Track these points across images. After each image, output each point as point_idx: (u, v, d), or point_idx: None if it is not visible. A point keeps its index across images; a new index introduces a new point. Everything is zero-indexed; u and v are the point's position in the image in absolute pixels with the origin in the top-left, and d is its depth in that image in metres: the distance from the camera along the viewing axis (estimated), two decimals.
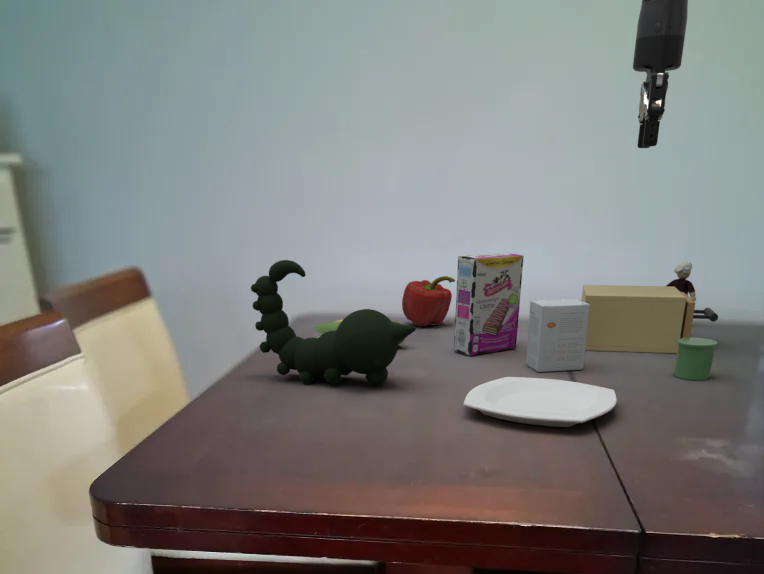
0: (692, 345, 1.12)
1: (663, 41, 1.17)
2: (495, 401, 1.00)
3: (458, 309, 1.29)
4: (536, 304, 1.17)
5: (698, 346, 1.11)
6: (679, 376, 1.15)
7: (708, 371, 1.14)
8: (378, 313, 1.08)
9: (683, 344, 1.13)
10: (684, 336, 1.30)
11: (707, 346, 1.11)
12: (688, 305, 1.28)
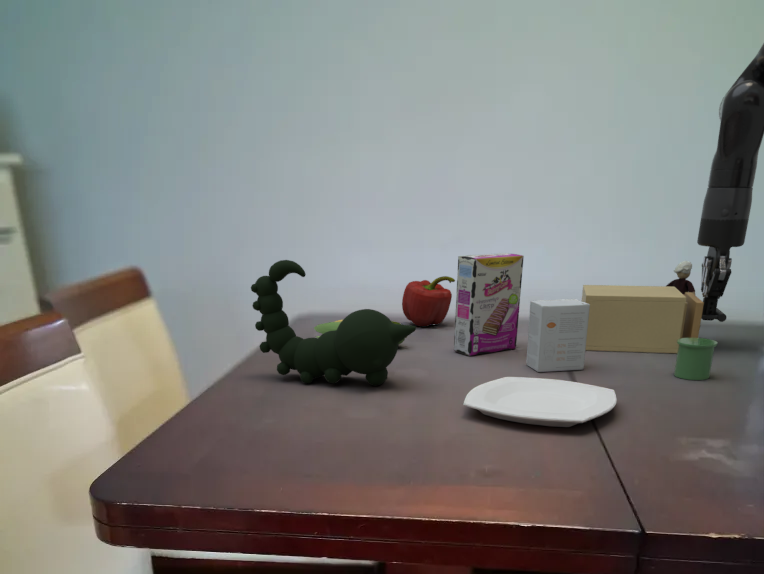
0: (692, 345, 1.12)
1: (729, 225, 1.24)
2: (495, 401, 1.00)
3: (458, 309, 1.29)
4: (536, 304, 1.17)
5: (698, 346, 1.11)
6: (679, 376, 1.15)
7: (708, 371, 1.14)
8: (378, 313, 1.08)
9: (683, 344, 1.13)
10: (692, 336, 1.29)
11: (707, 346, 1.11)
12: (696, 305, 1.27)
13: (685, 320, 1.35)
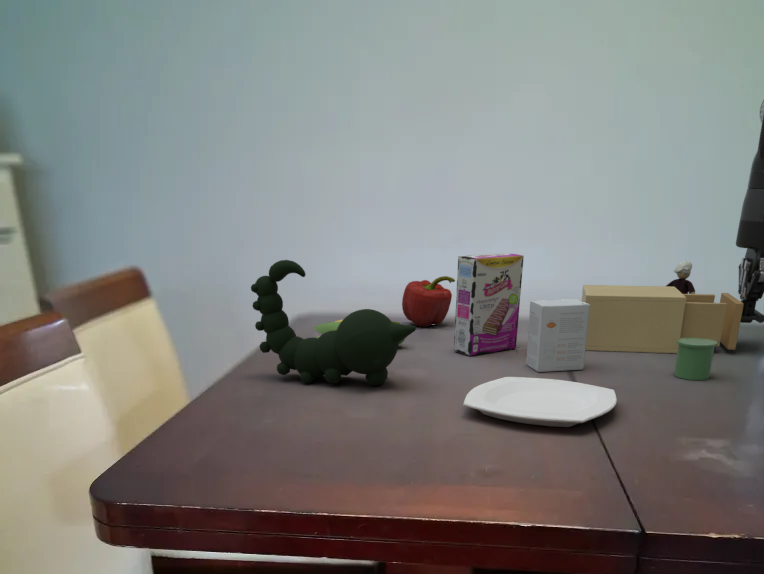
0: (692, 345, 1.12)
1: None
2: (495, 401, 1.00)
3: (458, 309, 1.29)
4: (536, 304, 1.17)
5: (698, 346, 1.11)
6: (679, 376, 1.15)
7: (708, 371, 1.14)
8: (378, 313, 1.08)
9: (683, 344, 1.13)
10: (731, 337, 1.28)
11: (707, 346, 1.11)
12: (736, 306, 1.26)
13: None
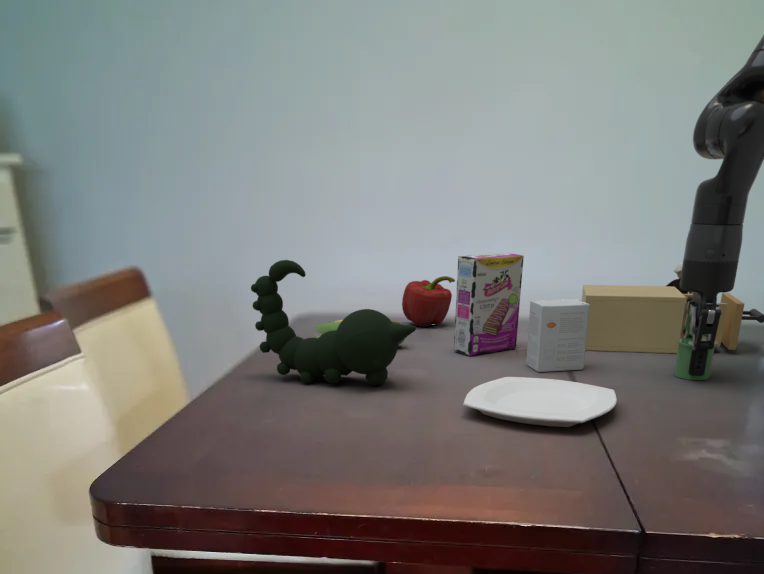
0: None
1: (715, 268, 1.06)
2: (495, 401, 1.00)
3: (458, 309, 1.29)
4: (536, 304, 1.17)
5: None
6: (679, 376, 1.15)
7: (708, 371, 1.14)
8: (378, 313, 1.08)
9: (683, 344, 1.13)
10: (732, 337, 1.28)
11: None
12: (737, 306, 1.26)
13: None
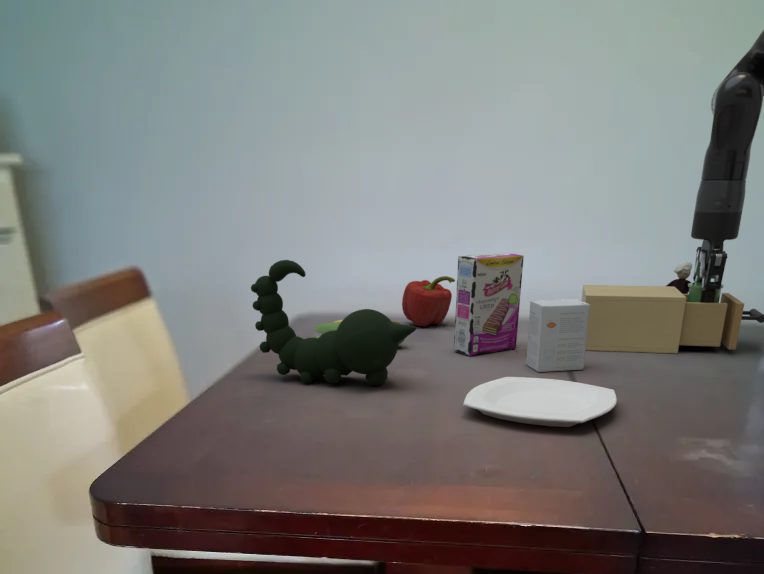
0: None
1: (722, 218, 1.23)
2: (495, 401, 1.00)
3: (458, 309, 1.29)
4: (536, 304, 1.17)
5: None
6: None
7: None
8: (378, 313, 1.08)
9: (694, 286, 1.30)
10: (732, 337, 1.28)
11: None
12: (737, 306, 1.26)
13: None
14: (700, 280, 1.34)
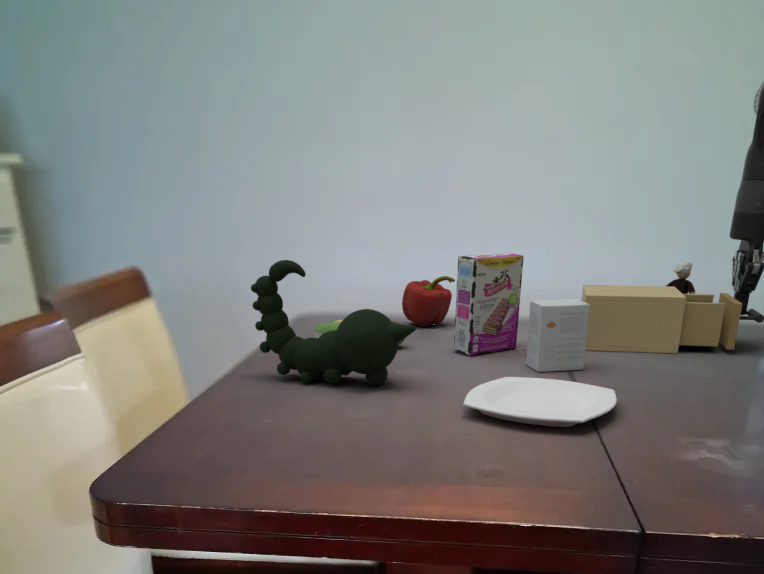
0: None
1: (763, 218, 1.22)
2: (495, 401, 1.00)
3: (458, 309, 1.29)
4: (536, 304, 1.17)
5: None
6: None
7: None
8: (378, 313, 1.08)
9: None
10: (730, 337, 1.28)
11: None
12: (735, 306, 1.26)
13: None
14: None
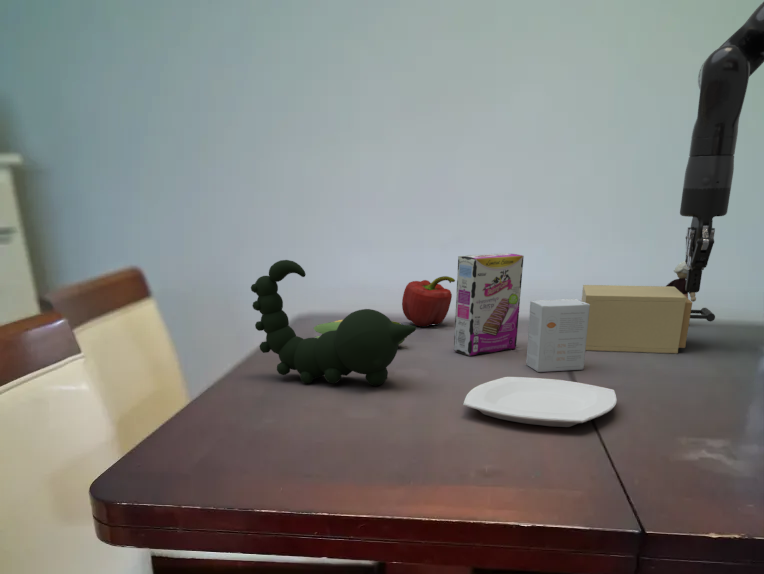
0: None
1: (710, 194, 1.22)
2: (495, 401, 1.00)
3: (458, 309, 1.29)
4: (536, 304, 1.17)
5: None
6: None
7: None
8: (378, 313, 1.08)
9: None
10: (681, 336, 1.30)
11: None
12: (685, 305, 1.28)
13: None
14: None
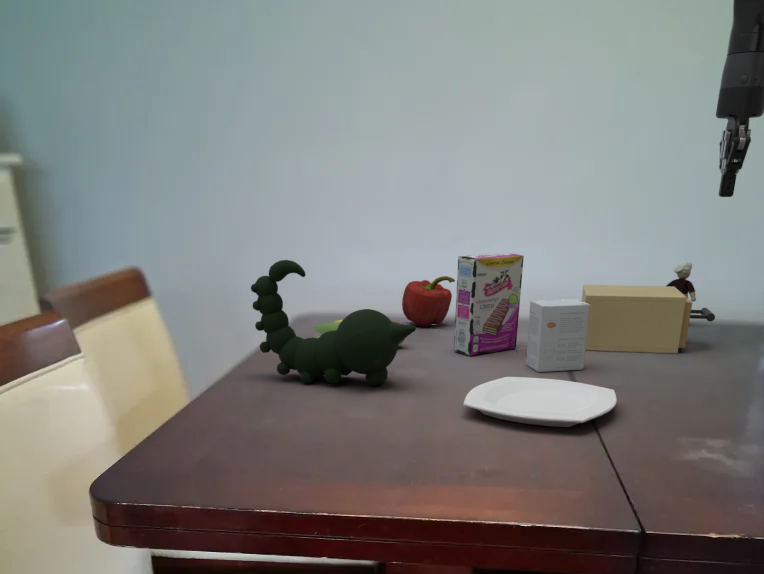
0: None
1: (748, 92, 1.23)
2: (495, 401, 1.00)
3: (458, 309, 1.29)
4: (536, 304, 1.17)
5: None
6: None
7: None
8: (378, 313, 1.08)
9: None
10: (681, 336, 1.30)
11: None
12: (685, 305, 1.28)
13: None
14: None
